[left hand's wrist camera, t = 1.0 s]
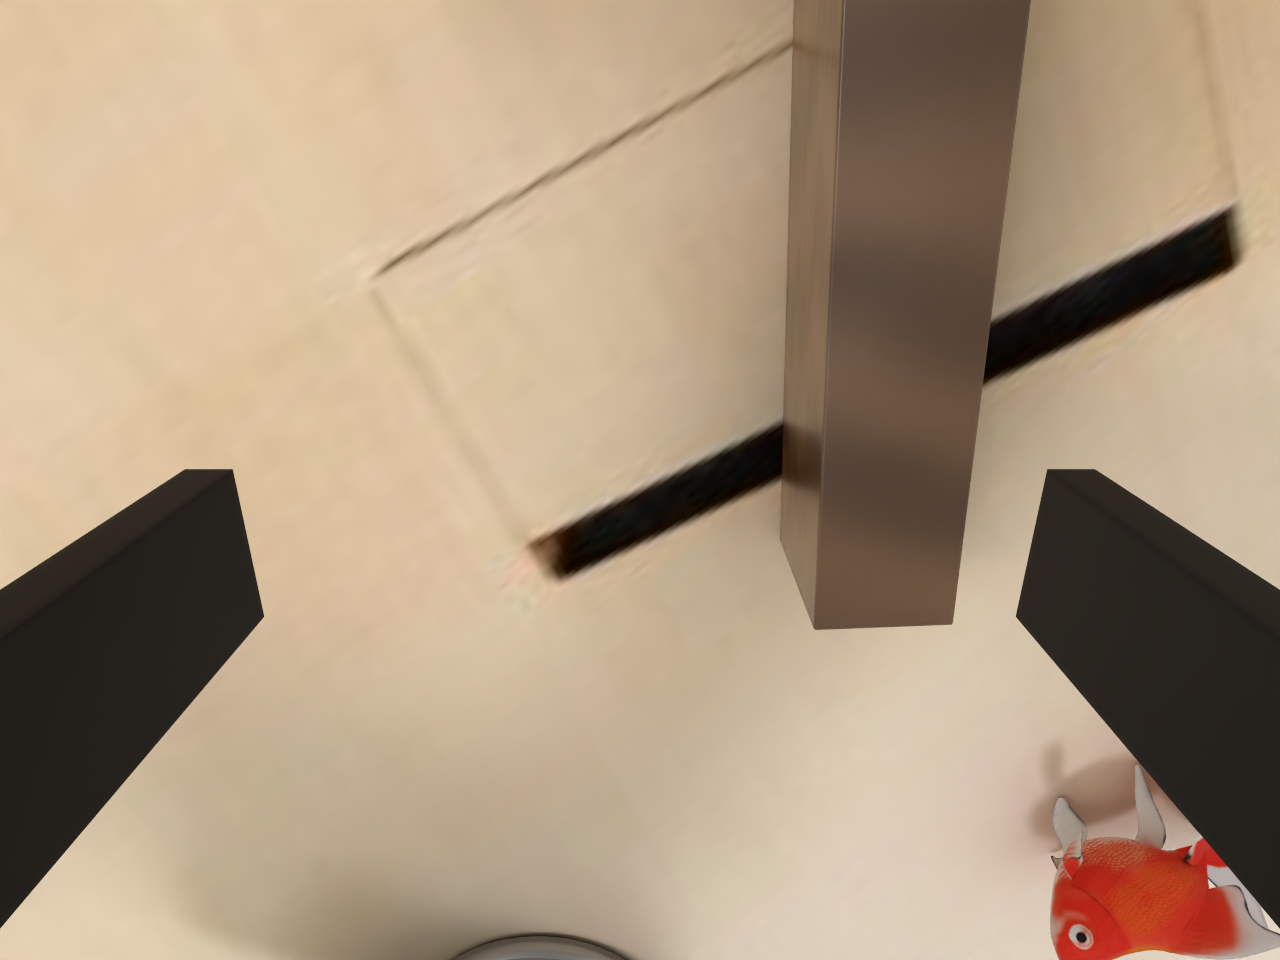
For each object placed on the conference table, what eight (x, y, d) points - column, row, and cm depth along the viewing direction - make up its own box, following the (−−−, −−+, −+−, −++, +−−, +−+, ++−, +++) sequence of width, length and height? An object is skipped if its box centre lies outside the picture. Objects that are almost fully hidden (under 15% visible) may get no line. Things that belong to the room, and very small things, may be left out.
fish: (988, 807, 35) (1215, 1019, 28) (1204, 624, 39) (1451, 769, 32) (976, 896, 42) (1156, 1085, 35) (1161, 733, 46) (1356, 872, 39)
